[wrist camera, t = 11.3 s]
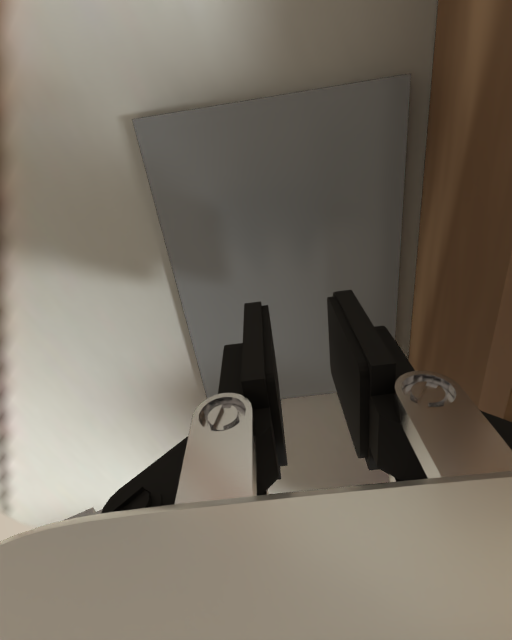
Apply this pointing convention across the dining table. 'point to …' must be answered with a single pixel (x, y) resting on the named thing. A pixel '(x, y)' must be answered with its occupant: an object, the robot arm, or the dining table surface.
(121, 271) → the dining table surface
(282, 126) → the slate pad
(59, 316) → the dining table surface
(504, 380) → the caddy
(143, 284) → the dining table surface
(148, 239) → the dining table surface
